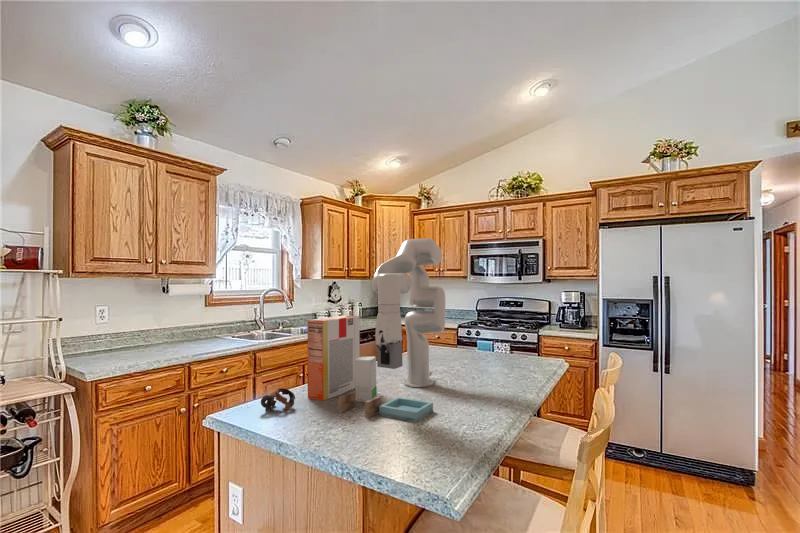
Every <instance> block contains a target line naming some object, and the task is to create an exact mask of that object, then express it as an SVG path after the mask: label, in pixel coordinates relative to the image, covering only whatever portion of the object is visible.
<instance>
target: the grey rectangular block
mask: <svg viewBox="0 0 800 533" xmlns="http://www.w3.org/2000/svg"><path fill="white" fill-rule="evenodd" d="M384 343H385V342H384ZM384 347H386V345H384ZM388 353H389V365H386V364H381V352H380V350H379V348H378V347H377V346H376V357H377V358H376V368H385V369H391V370H396V369H398V368H399V369H400V368H401V367H403V342H401V343H399V342H396V340H395V341H393V342H392V343H390V344H389V349H388Z"/></svg>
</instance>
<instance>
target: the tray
mask: <svg viewBox="0 0 800 533" xmlns="http://www.w3.org/2000/svg"><path fill="white" fill-rule="evenodd" d="M433 412H434V402H430V401H424V400H419V399H412V398H406V397H402V396H401V397H399V396H397V397H395V398H393V399H391V400H389V401H387V402H385V403H382V405H381V406H379V416H380V417H381V416H382V417H388V418H392V419H398V420H402V421H408V422H413V423H417V422H419V421H420V420H422V419H423V418H425V417H427V416H428V415H430V414H432V413H433Z"/></svg>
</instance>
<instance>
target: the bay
mask: <svg viewBox="0 0 800 533" xmlns="http://www.w3.org/2000/svg"><path fill="white" fill-rule="evenodd" d="M382 400H383V399H382V396H381V395H377V397H375V398H373V399H370V400H368V401H366V402H364V418H367V419H368V418H371V417H372V416H374V415H377V414H378V413H379V406H381V405H383V403H382ZM356 406H357V401H356V391H351V392H349V393H346V394H344V395H340V396H338V412H339V413H343V412H346V411H348V410H350V409H353V408H355V407H356ZM352 407H353V408H352Z"/></svg>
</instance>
